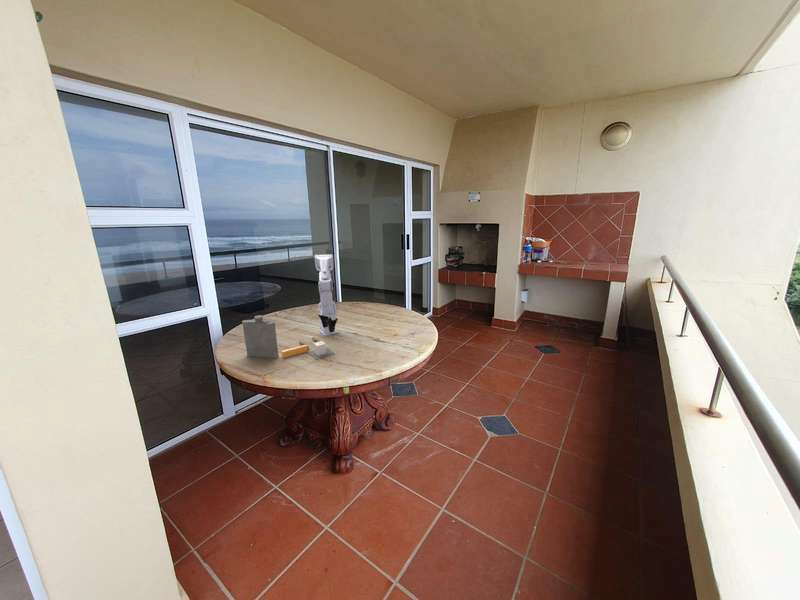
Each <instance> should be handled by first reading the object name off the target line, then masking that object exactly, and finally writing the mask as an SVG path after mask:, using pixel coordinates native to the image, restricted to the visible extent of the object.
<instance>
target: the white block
mask: <svg viewBox="0 0 800 600" xmlns="http://www.w3.org/2000/svg"><path fill="white" fill-rule="evenodd" d="M319 341H320V342H316V343H315V342H313V344H312V345H313V350H314V353H315V354H317V355H318V356H319V355H323V354H326V353H327V349H326V347H327V343H326V342H325V341H324V340H319Z"/></svg>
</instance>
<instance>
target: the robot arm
mask: <svg viewBox="0 0 800 600" xmlns="http://www.w3.org/2000/svg"><path fill="white" fill-rule="evenodd" d="M314 266H315V269H316V270H317V272H319V273H318V278H319V279H318V291H319V296H320V297H319V299H320V302H319V303H318V309H317V311H318V314H317V316H318V317H319V330H318V332H320V333H321V334H322V335H324V336H326V337H327V336H331V335H334V334H338V333H339V331H338V330H336V324H337V322H338V320H339V318H337V316H338V315H337V314H338V312H337V305H336V302H335V301H334V300H333V291H334V290H333V280H332V274H331V271H332V270H334V254H314Z"/></svg>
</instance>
